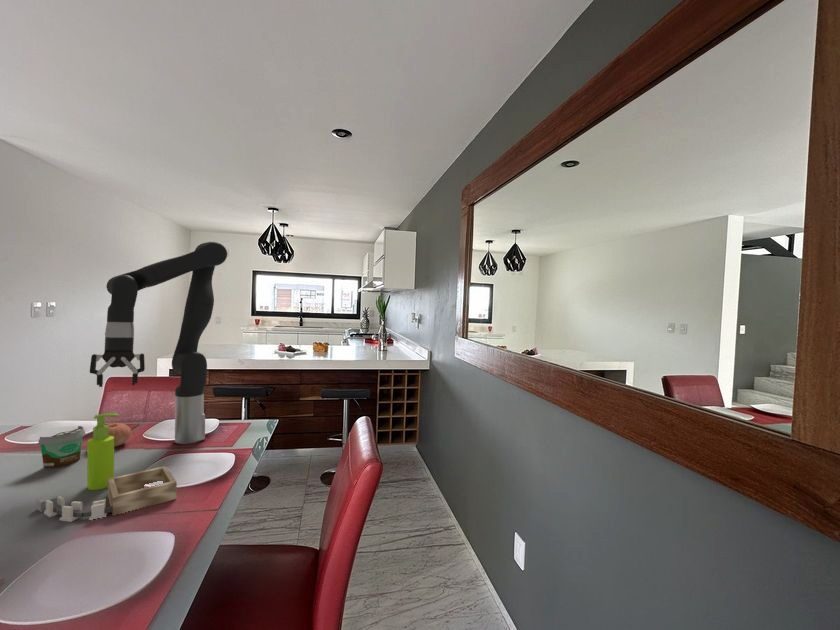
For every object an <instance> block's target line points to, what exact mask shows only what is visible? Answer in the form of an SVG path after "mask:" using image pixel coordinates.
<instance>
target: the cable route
mask: <svg viewBox="0 0 840 630" xmlns="http://www.w3.org/2000/svg"><path fill="white" fill-rule="evenodd" d="M106 502H107V499H106V498H104V499H100V500H95V501H92V505H91V510H90V509H89V510H83V501H75V500H74V501H71V504H70V505H71V506H70V505H65V503H66V501H65V498H64V497H63V496H61V495H58V494H56V493H55V494H51V495H49V496H46V497H45V496H44V497H41V498H39V499H36V510H37V511H38V510H39V511H40V513H43V514H44V515H45V516H47V517H48V518H51V517H55V516H57V515H58V516H60V517H59V521H62V522H70V523H72V522H74V521H76V520H77V519H80V518H88V517H89V518H88V521H89V520H91V521H94V520H93V519H96V520H98V519H97V518H100V519H103V518H102V517H105V518H107V516H106V515H108V513H112V506H110V505H109V506H107V505H106V504H107V503H106ZM45 510H46V511H45ZM39 511H38V512H39Z"/></svg>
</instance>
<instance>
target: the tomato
mask: <svg viewBox="0 0 840 630" xmlns="http://www.w3.org/2000/svg"><path fill="white" fill-rule="evenodd" d="M106 425H108V426H109V436H113V437H114V448H116V447H119V446H122V445H124V444H125V443H126V442H127V441H128V440H129V439H130V438H131V436H132V430H131V428H130V427H129V426H128V425H127V424H125V423H122V422H119V423H118V422H115V423H108V424H106Z"/></svg>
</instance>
